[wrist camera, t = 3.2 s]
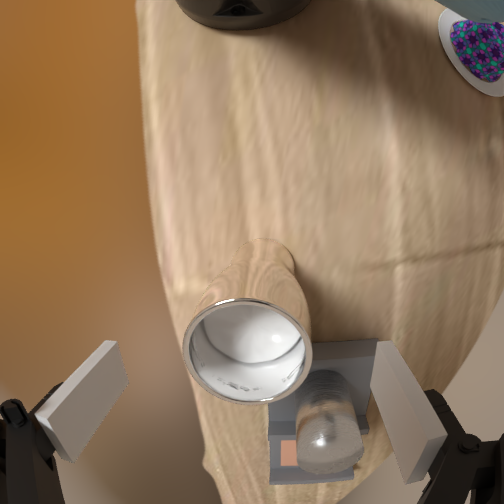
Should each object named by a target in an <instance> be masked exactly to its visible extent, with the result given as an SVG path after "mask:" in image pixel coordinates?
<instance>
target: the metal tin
mask: <svg viewBox="0 0 504 504" xmlns="http://www.w3.org/2000/svg"><path fill="white" fill-rule="evenodd" d="M295 417H296V451H297V464H298V466H299V467H300V468H301V469H303V470H304V471H306V472H309V473H313V474H331V473H336V472H340V471H343V470H345V469H348V468H349V467H351V466H353V465H354V464H356V463H357V462H358V461H359V460H360V459H361V457H362V456H363V453H364V446H363V442H362V438H361V434H360V430H359V426H358V423H357V419H356V415H355V411H354V407H353V404H352V400H351V396H350V393H349V389H348V386H347V382H346V380H345V378H344V377H343V376H342V375H341V374H340V373H338V372H336V371H332V370H317V371H313V372H311V373H309V374H308V375H307V377H306V378H305V380H304V381H303V383H302V384H301V385H300V386H299V387H298V388H297V389H296V390H295Z"/></svg>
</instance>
